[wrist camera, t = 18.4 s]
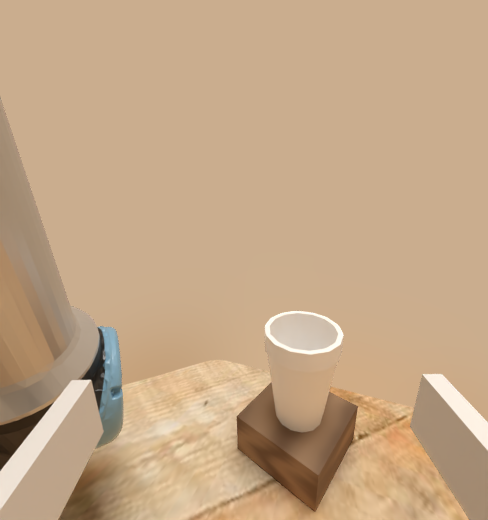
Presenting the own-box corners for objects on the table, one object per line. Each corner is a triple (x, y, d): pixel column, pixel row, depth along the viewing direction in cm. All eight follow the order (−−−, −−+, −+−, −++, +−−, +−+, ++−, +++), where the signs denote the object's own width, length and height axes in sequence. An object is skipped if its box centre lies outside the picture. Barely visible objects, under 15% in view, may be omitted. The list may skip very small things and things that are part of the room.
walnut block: (237, 448, 40) (236, 416, 38) (283, 397, 48) (284, 369, 47) (315, 511, 32) (318, 475, 31) (353, 438, 41) (357, 406, 39)
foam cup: (349, 426, 36) (361, 340, 32) (288, 456, 33) (292, 364, 28) (305, 379, 44) (310, 305, 40) (253, 398, 41) (252, 320, 37)
